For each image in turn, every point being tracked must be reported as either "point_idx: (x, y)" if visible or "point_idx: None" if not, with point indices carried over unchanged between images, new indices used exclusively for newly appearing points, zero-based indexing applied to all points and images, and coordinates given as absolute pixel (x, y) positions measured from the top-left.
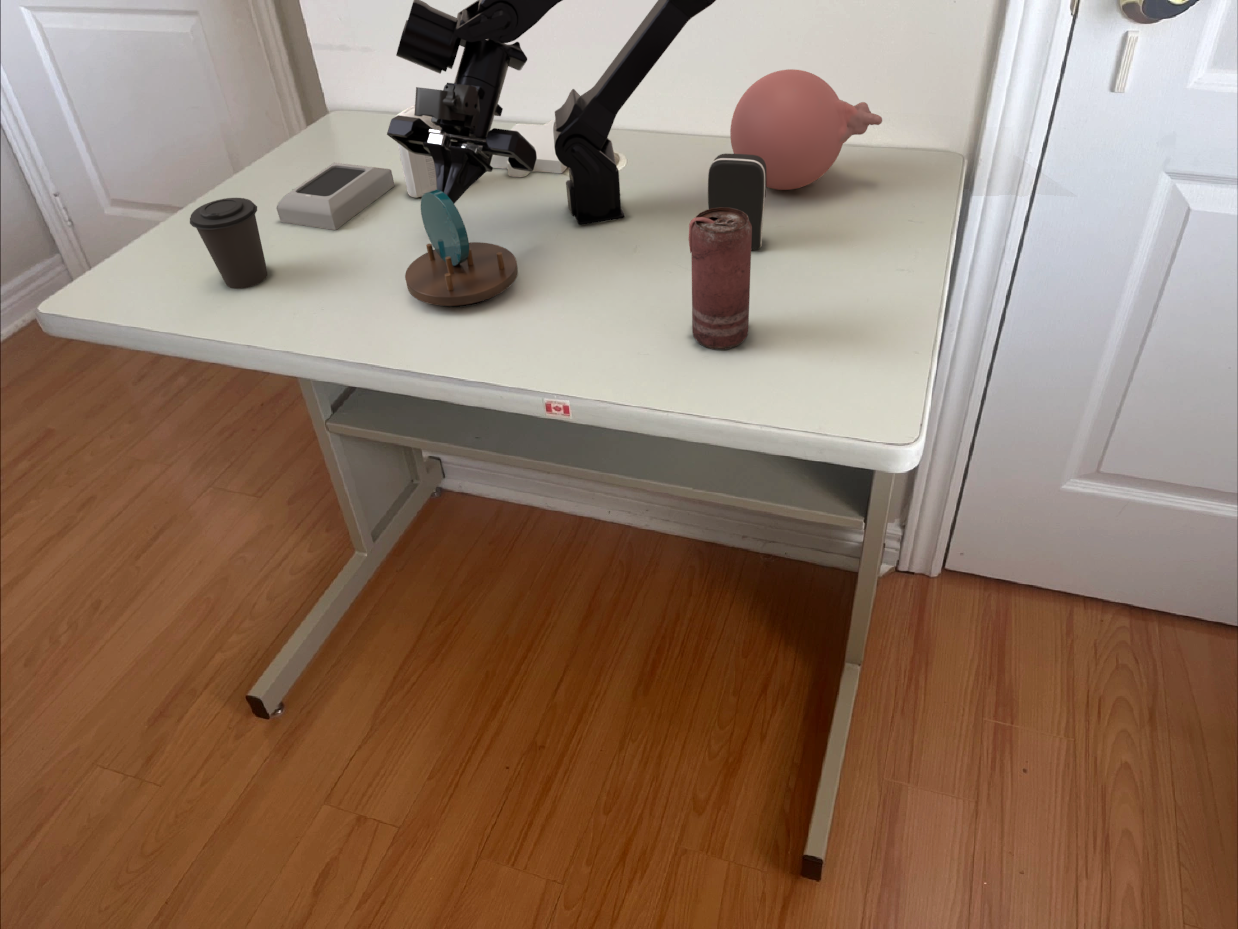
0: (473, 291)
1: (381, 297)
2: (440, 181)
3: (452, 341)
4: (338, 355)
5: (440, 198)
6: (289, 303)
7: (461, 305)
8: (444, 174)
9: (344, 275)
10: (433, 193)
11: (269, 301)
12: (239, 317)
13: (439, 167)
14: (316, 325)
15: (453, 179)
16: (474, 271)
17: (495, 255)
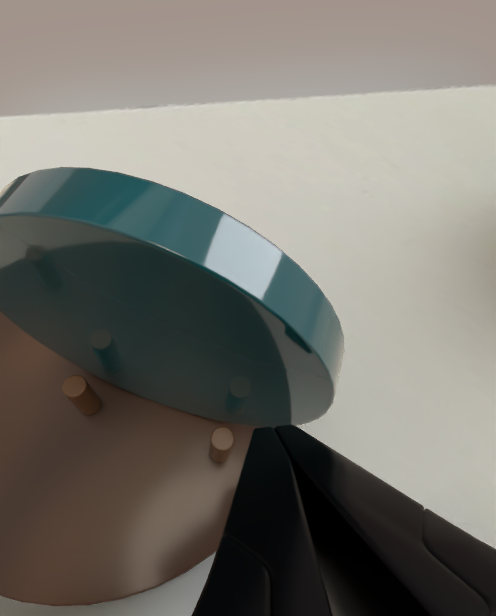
0: None
1: None
2: (369, 504)
3: None
4: (209, 110)
5: (73, 172)
6: (441, 186)
7: None
8: (381, 569)
9: (462, 303)
10: (157, 189)
11: (479, 179)
12: (465, 134)
13: (491, 591)
14: (325, 154)
15: (235, 545)
16: (49, 370)
17: (23, 512)
